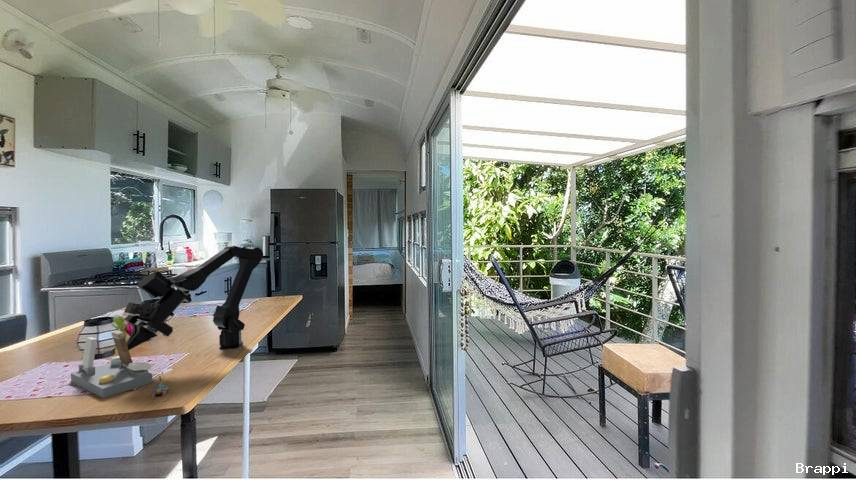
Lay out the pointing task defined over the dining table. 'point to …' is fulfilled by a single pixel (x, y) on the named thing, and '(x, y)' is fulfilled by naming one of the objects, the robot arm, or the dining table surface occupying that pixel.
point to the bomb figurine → (160, 389)
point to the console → (110, 379)
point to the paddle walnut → (121, 347)
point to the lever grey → (89, 352)
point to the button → (115, 361)
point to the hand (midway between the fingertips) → (125, 349)
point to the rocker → (139, 366)
